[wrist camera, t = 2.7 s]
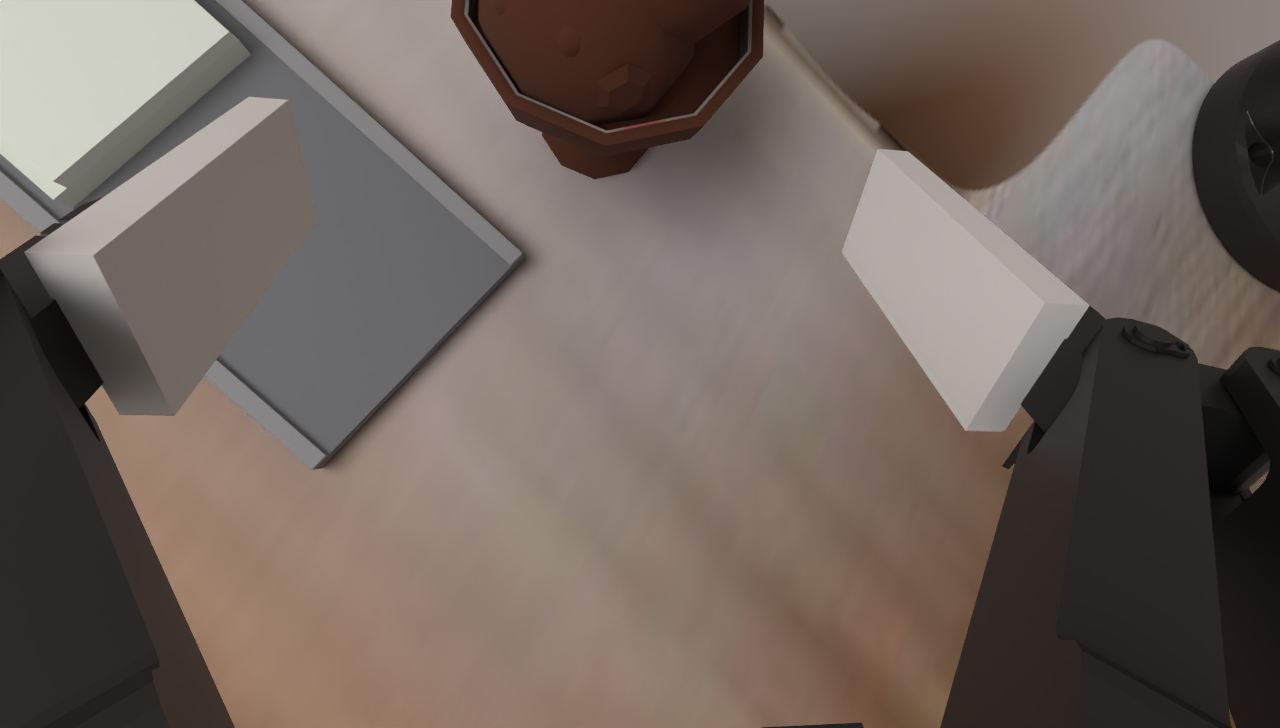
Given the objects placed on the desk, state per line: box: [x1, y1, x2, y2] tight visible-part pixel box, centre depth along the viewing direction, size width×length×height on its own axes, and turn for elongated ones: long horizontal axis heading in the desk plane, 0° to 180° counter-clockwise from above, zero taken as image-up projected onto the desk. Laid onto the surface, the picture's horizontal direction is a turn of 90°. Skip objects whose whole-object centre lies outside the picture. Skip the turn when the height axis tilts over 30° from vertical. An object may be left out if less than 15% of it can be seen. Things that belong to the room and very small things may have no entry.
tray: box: [0, 0, 524, 470], centre depth 27 cm, size 24×13×1 cm, turn 49°
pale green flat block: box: [0, 0, 251, 208], centre depth 26 cm, size 8×10×2 cm
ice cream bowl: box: [451, 0, 764, 179], centre depth 23 cm, size 11×11×15 cm
